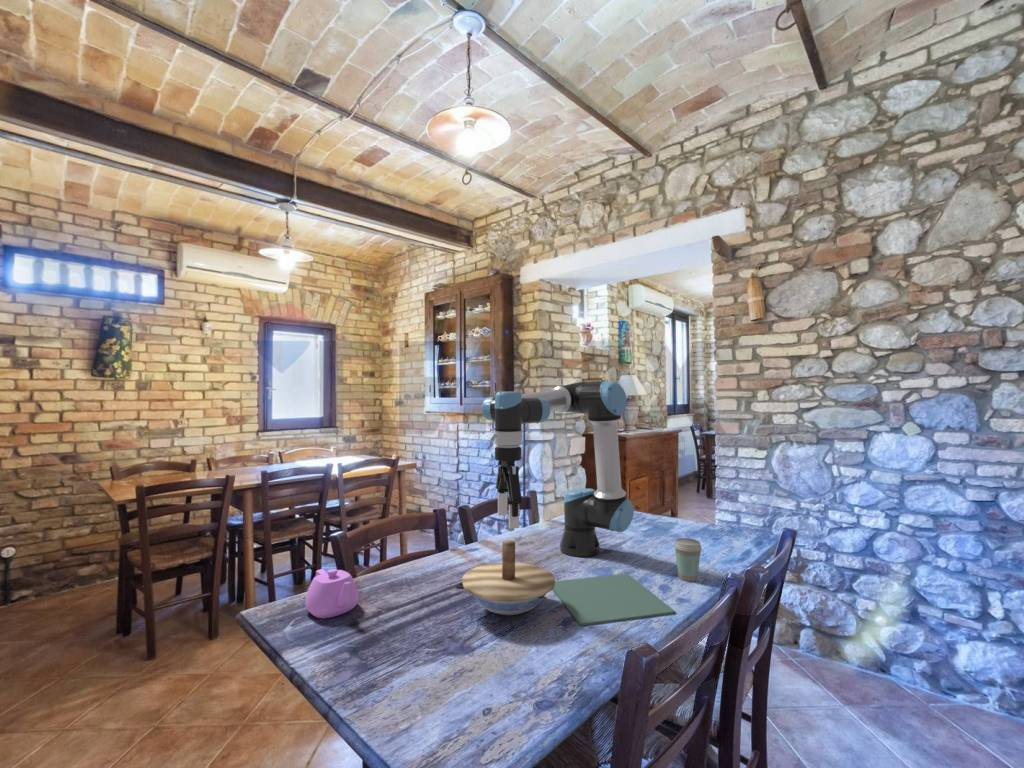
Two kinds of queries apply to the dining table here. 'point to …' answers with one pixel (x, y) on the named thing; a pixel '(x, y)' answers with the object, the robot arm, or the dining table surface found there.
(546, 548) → the dining table surface
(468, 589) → the lid
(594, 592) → the mat
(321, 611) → the teapot
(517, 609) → the ramen bowl
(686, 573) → the coffee cup
